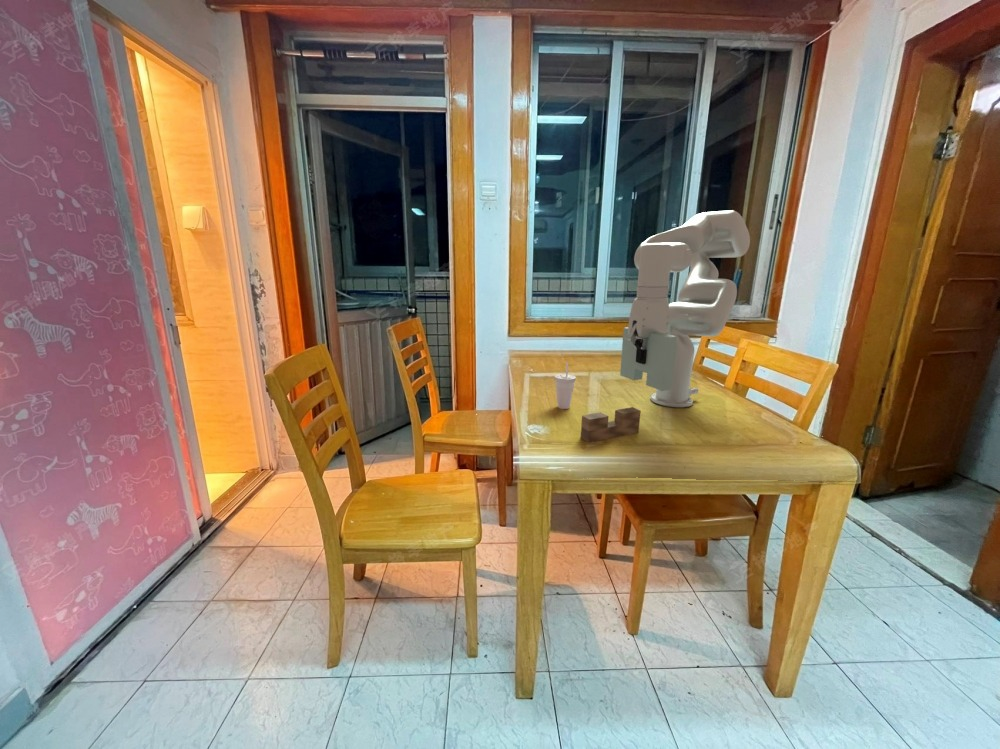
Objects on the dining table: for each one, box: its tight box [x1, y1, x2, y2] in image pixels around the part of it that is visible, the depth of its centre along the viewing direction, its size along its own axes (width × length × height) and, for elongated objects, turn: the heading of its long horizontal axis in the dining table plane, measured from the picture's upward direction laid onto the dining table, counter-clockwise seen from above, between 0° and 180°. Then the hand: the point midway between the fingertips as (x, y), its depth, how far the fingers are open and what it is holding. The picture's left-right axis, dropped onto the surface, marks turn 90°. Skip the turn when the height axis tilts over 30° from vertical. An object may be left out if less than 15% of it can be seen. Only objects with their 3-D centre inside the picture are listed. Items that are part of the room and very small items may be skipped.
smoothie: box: [554, 362, 577, 410], centre depth 122 cm, size 6×6×14 cm
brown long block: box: [580, 406, 641, 443], centre depth 102 cm, size 16×3×6 cm, turn 114°
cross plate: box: [619, 326, 677, 391], centre depth 109 cm, size 16×3×14 cm, turn 24°
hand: (645, 361), depth 109 cm, fingers closed on cross plate, 3 cm apart
